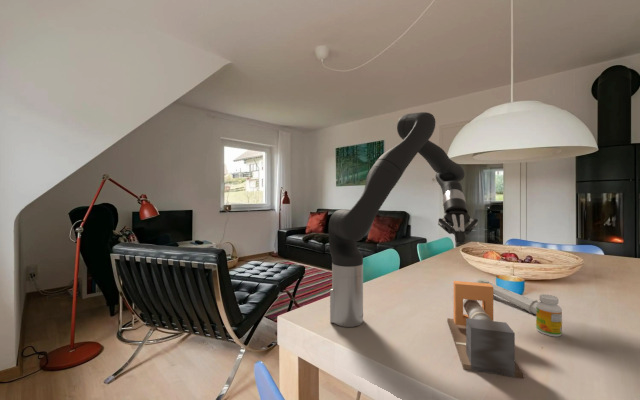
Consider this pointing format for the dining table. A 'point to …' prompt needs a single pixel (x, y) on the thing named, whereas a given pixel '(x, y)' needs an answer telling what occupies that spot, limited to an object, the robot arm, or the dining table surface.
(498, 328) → the pipe stand
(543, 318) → the supplement bottle
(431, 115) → the robot arm
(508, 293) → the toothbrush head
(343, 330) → the dining table surface
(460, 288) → the collar
